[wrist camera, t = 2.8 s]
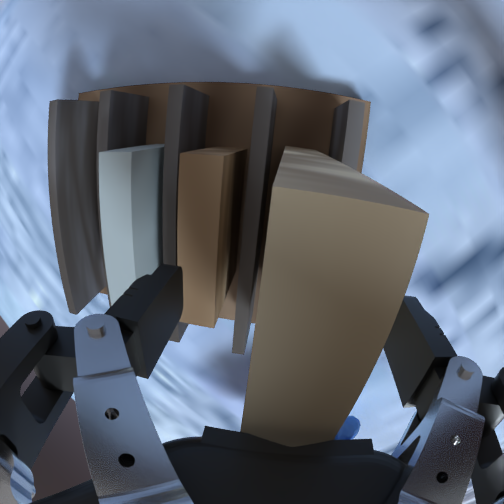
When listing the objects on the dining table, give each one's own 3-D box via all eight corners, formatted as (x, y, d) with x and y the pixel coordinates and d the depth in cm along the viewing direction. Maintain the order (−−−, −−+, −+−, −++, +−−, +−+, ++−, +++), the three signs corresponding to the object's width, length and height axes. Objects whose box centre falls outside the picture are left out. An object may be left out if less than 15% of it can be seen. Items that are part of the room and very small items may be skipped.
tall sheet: (316, 150, 18) (429, 214, 3) (294, 285, 22) (287, 502, 7) (285, 145, 18) (272, 186, 3) (268, 282, 22) (230, 496, 7)
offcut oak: (246, 148, 18) (223, 155, 12) (235, 271, 22) (214, 328, 15) (217, 146, 18) (179, 153, 12) (209, 267, 22) (179, 321, 16)
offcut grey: (182, 144, 19) (131, 151, 12) (178, 262, 22) (139, 312, 16) (156, 143, 19) (99, 152, 12) (155, 259, 22) (111, 305, 16)
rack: (365, 104, 17) (396, 92, 11) (323, 321, 24) (329, 375, 18) (89, 94, 19) (36, 91, 13) (96, 282, 26) (59, 317, 20)
